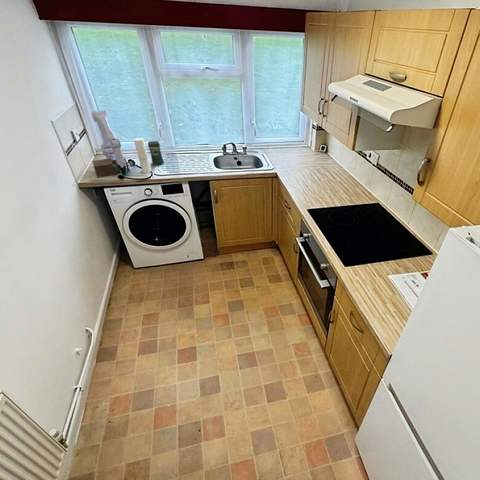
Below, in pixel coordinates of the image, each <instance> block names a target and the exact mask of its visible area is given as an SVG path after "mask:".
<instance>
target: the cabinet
mask: <svg viewBox="0 0 480 480" xmlns="http://www.w3.org/2000/svg"><path fill="white" fill-rule="evenodd" d="M112 164H113V163H112V160H111V159H106V158H105V159H104V158H103V159H95V160H92V165H93V168H94V171H95V174H96V176H97V178H103V177H110V176H117V173H116V172H115V169H114V166H112Z"/></svg>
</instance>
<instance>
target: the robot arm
mask: <svg viewBox="0 0 480 480" xmlns="http://www.w3.org/2000/svg"><path fill="white" fill-rule="evenodd" d="M91 117H92V120H93V122H94V123H96V124H97V126H98V129H99V130H98V131H99V133H100V136H101V140H102V143H101V144H100V150H101V153H102V155H103V156H105V159H111V160H116V163H117V165H118V168H119V169H120V170H121V172H122V174H123V175H126V171H127V168H126V165H125V163H126V161H127V160H126V161H124V158H125V157H124V155H123V151H122V148H121V147H122V144H121V141H120V140H119V138H118V137H117V136H116V134H115V132H114V131H113V130H112V129H111V127H110V125H109V114H108V112H107V111H106V110H105V109H104V110H96V111H95V110H94V111H91ZM121 172H120V173H121Z"/></svg>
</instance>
